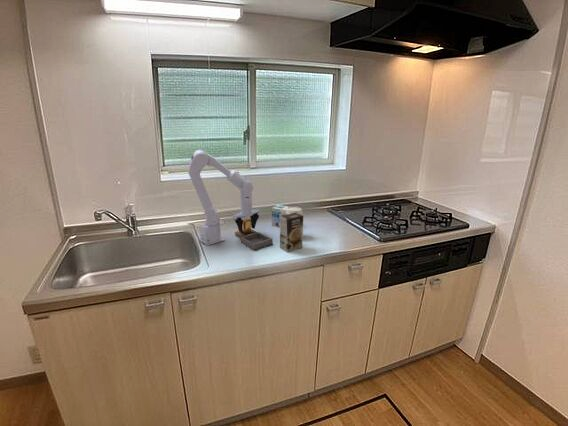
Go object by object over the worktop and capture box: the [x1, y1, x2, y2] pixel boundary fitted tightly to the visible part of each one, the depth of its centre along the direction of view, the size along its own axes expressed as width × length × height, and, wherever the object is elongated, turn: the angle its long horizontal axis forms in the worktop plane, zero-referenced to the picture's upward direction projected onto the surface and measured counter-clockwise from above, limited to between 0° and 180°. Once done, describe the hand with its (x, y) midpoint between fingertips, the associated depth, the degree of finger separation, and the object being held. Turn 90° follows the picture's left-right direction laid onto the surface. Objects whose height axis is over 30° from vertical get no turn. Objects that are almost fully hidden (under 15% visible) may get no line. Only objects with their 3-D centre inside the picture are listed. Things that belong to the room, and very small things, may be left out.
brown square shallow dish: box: [234, 228, 259, 239], centre depth 162 cm, size 9×9×2 cm
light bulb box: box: [271, 204, 291, 228], centre depth 175 cm, size 11×7×11 cm, turn 62°
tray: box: [240, 231, 273, 251], centre depth 153 cm, size 11×11×3 cm
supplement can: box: [286, 206, 304, 216], centre depth 160 cm, size 8×8×15 cm
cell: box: [242, 218, 252, 235], centre depth 161 cm, size 4×4×9 cm
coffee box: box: [279, 213, 304, 253], centre depth 147 cm, size 9×6×16 cm
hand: (246, 229), depth 161 cm, fingers open, 7 cm apart
